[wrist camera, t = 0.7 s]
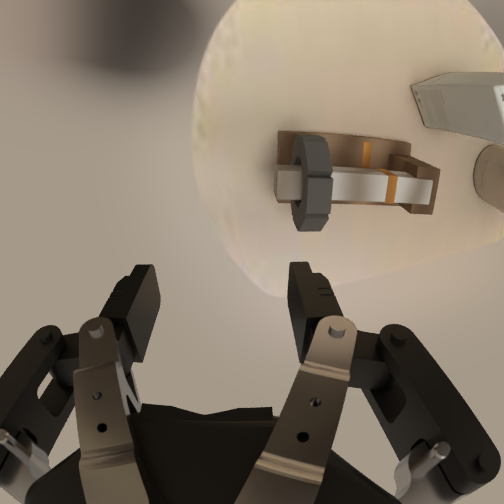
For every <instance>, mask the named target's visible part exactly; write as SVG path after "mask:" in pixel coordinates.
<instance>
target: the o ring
mask: <svg viewBox="0 0 504 504" xmlns="http://www.w3.org/2000/svg"><path fill="white" fill-rule="evenodd" d="M291 156H292V158H291V162H290V165H301V166H302V173H303V188H302V200H291V209H292V215H293V221H294V223H295V226H296V228H297V231H321V230H322V228H323V227H324V225H325V224H326V222H327V221H328V219H329V217H328V214H330V211H331V201H332V190H333V178H332V177H331V175H332V173H333V168H332V162H331V157H330V152H329V147H328V142H326V138H324V137H322V136H319V135H315V134H296V135H295V139H294V143H293V147H292V151H291Z"/></svg>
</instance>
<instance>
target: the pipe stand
mask: <svg viewBox="0 0 504 504" xmlns="http://www.w3.org/2000/svg"><path fill="white" fill-rule="evenodd" d="M296 134H315V135H319V136H322V137H324V138H326V142H328V147H329V152H330V157H331V162H332V168H333V173H332V175H331V177H332V178H333V190H332V201H331V204H366V205H391V206H401V207H403V208H404V209H405V210H406V211H408V212H409V213H410V214H430V215H432V213H433V208H434V203H435V198H436V193H437V187H438V182H439V175H440V169H438V168H436V167H434V166H431V165H429V164H427V163H425V162H422V161H420V160H418V159H416V158H413V157H411V156H410V152H411V144H409V143H406V142H401V141H394V140H387V139H380V138H371V137H363V136H353V135H342V134H330V133H315V132H294V131H278V165H274V193H275V196H276V198H277V201H278V203H291V200H302V188H303V173H302V166H301V165H290V162H291V158H292V156H291V151H292V147H293V143H294V139H295V135H296Z"/></svg>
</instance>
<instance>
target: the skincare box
mask: <svg viewBox="0 0 504 504" xmlns="http://www.w3.org/2000/svg"><path fill="white" fill-rule="evenodd" d="M411 88H412V91H413V94H414V96H415V98H416V101H417V104H418V107H419V111H420V114H421V117H422V120H423V123H424V125H425V126H426V127H429V128H435V129H440V130H446V131H450V132H455V133H460V134H464V135H469V136H473V137H477V138H481V139H485V140H489V141H493V142H496V143H500V144H503V145H504V73H501V72H458V73H447V74H443V75H440V76H437V77H434V78H431V79H428V80H425V81H423V82H421V83H418V84H415V85H412V86H411Z"/></svg>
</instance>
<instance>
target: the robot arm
mask: <svg viewBox="0 0 504 504" xmlns="http://www.w3.org/2000/svg"><path fill="white" fill-rule="evenodd" d="M474 183H475V188H476V191H477V193H478V195H479V197H480V198H481V199H482V200H484V201H486V202H487V203H489V204H491V205H492V206H494V207H496V208H497V209H498V210H500V211H502V212H503V213H504V148H502V147H499V146H496V145H491V146H488V147H487V148H485V149H484V150H483V151H482V153H481V154H480V156H479V158H478V160H477V163H476V166H475V172H474ZM287 298H288V308H289V312H290V317H291V322H292V327H293V331H294V337H295V341H296V347H297V352H298V357H299V362H300V363H302V364H301V365H300V368H299V370H298V373H297V375H296V378H295V380H294V382H293V385H292V387H291V390H290V393H289V395H288V397H287V399H286V402H285V405H284V407H283V409H282V411H281V413H280V416H279V417H278V416H273V412H272V407H260V408H237V409H232V410H228V411H223V412H218V413H213V414H208V415H202V414H198V413H194V412H190V411H187V410H183V409H180V408H177V407H173V406H164V405H153V404H144V403H142V406H141V402H140V398H139V395H138V391H137V387H136V383H135V379H134V375H133V372H132V369H131V366H132V364H133V362H140V363H142V362H143V359H144V356H145V352H146V349H147V346H148V343H149V339H150V336H151V333H152V330H153V327H154V323H155V320H156V317H157V314H158V311H159V308H160V292H159V287H158V282H157V277H156V273H155V268H154V266H153V265H152V264H150V265H149V264H148V265H135V267H134V269H133V271H132V273H131V274H130V276H125V277H124V278H122V279H121V280H120V281H119V282H118V283H117V284H116V286H115V287H114V289H113V292H112V293H111V295H110V298H108V300H107V302H106V304H105V305H104V307H103V309H102V311H101V313H100V315H99V317H96V318H92V319H90V320H88V321H86V322H85V323H84V324H83V325H82V326H81V328H80V330H79V332H78V333H73V334H68V335H62V333H61V331H60V329H59V328H58V327H57V326H54V325H48V326H44V327H42V328H40V329H39V330H38V331H36V333H35V334H34V335H33V336H32V337H31V338H30V340H29V341H28V342H27V343H26V345H25V346H24V347H23V348H22V350H21V351H20V352H19V353H18V355H17V356H16V357H15V359H14V360H13V361H12V363H11V364H10V365H9V367H8V368H7V369H6V371H5V372H4V374H3V375H2V376H1V377H0V487H1V488H3V489H4V490H5V491H6V492H8V493H9V494H10V495H11V496H13V497H14V498H15V499H16V500H18V501H19V502H20V503H22V504H452V503H454V502H456V501H458V500H460V499H462V498H463V497H465V496H467V495H469V494H470V493H472V492H474V491H476V490H477V489H479V488H480V487H482V486H484V485H485V484H487V483H488V482H490V481H491V480H493V479H494V478H495V477H496V475H497V474H498V472H499V469H500V465H501V458H500V454H499V452H498V450H497V448H496V447H495V445H494V443H493V442H492V440H491V439H490V437H489V436H488V434H487V433H486V431H485V430H484V428H483V427H482V425H481V424H480V422H479V421H478V419H477V418H476V416H475V415H474V413H473V412H472V410H471V409H470V407H469V406H468V405H467V403H466V402H465V400H464V399H463V398H462V396H461V395H460V393H459V392H458V390H457V389H456V388H455V387H454V385H453V384H452V382H451V381H450V380H449V378H448V377H447V376H446V374H445V373H444V372H443V370H442V369H441V368H440V366H439V365H438V364H437V362H436V361H435V360H434V359H433V357H432V356H431V355H430V353H429V352H428V351H427V349H426V348H425V347H424V346H423V344H422V343H421V342H420V341H419V339H418V338H417V337H416V336H415V334H414V333H413V332H412V331H411V330H410V329H408V328H407V327H405V326H402V325H399V324H390V325H386V326H385V327H383V328H382V330H381V331H380V334H375V333H368V332H362V331H359V330H357V328H356V326H355V324H354V323H353V322H352V321H350V320H349V319H347V318H345V317H344V316H343V314H342V311H341V309H340V307H339V304H338V302H337V299H336V297H335V296H334V292H333V290H332V289H331V285H330V283H329V281H328V279H327V278H326V277H325V276H323V275H322V274H321V273H312V271H311V268H310V265H309V263H308V262H290V266H289V280H288V294H287ZM48 372H49V373H50V374H51V376H52V377H53V379H52V380H51V382H50V383H49V385H48V386H47V388H46V389H45V391H44V393H43V394H42V396H41V397H40V399H38V396H37V390H38V387H39V386H40V384H41V382H42V381H43V380H44V378H45V377H46V375H47V374H48ZM348 387H354V388H361V389H362V391H363V393H364V395H365V397H366V398H367V400H368V402H369V404H370V406H371V408H372V409H373V412H374V413H375V415H376V417H377V419H378V421H379V422H380V425H381V427H382V428H383V430H384V432H385V434H386V436H387V438H388V440H389V442H390V444H391V445H392V447H393V449H394V451H395V453H396V455H397V457H398V459H399V461H400V462H399V463H398V465H397V466H396V468H395V472H394V478H395V482H396V487H397V489H396V494H395V496H393V495H391V494H390V493H388V492H387V491H385V490H384V489H382V488H381V487H380V486H378V485H377V484H375V483H374V482H373V481H371V480H370V479H369V478H367V477H366V476H365V475H363V474H362V473H361V472H359V471H358V470H357V469H355V468H354V467H353V466H351V465H350V464H349V463H348V462H346V461H345V460H344V459H343V458H341V457H340V456H339V455H338V454H336V453H335V452H334V451H333V450H332V449H331V448H332V444H333V441H334V438H335V434H336V431H337V427H338V424H339V420H340V416H341V413H342V409H343V405H344V401H345V396H346V392H347V388H348ZM74 406H75V409H76V419H77V429H78V436H79V443H80V448H79V449H77V450H76V451H75V452H74V453H72V454H71V455H70V456H68V457H67V458H66V459H64V460H63V461H62V462H60V463H59V464H58V465H56V466H55V467H54V468H52V469H51V468H50V466H49V460H48V456H49V454H50V452H51V450H52V448H53V446H54V444H55V442H56V440H57V438H58V436H59V434H60V432H61V430H62V428H63V427H64V425H65V423H66V421H67V419H68V417H69V415H70V413H71V412H72V410H73V408H74Z"/></svg>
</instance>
